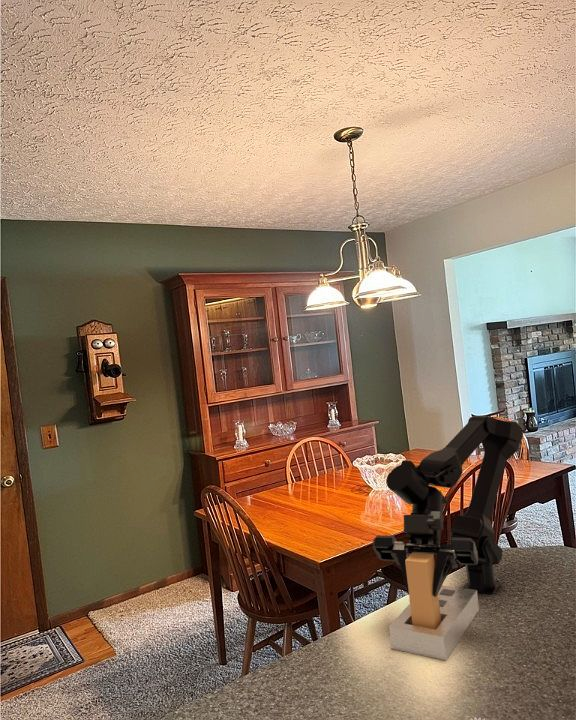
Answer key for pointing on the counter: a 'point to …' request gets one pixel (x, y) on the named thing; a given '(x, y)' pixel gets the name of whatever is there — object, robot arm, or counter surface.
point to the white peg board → (438, 643)
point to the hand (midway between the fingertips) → (421, 594)
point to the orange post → (422, 590)
